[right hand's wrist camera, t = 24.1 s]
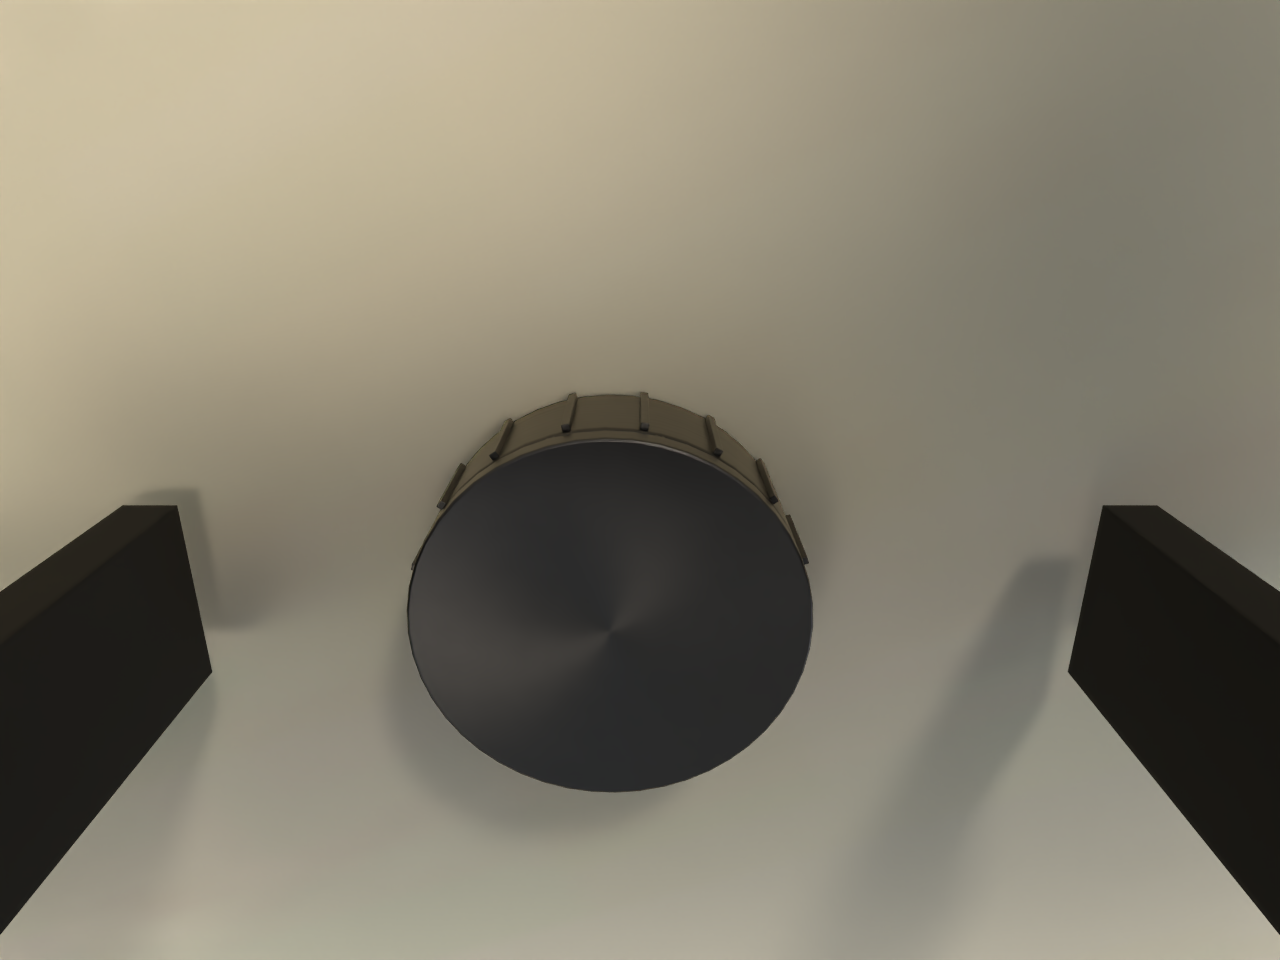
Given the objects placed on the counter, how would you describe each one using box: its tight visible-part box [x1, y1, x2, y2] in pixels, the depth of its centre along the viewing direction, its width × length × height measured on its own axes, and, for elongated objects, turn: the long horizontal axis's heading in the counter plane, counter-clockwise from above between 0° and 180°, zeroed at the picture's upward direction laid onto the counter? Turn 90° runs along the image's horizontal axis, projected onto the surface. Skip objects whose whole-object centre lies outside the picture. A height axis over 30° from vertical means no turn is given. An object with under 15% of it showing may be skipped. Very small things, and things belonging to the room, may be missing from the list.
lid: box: [407, 392, 813, 792], centre depth 12 cm, size 6×6×2 cm
